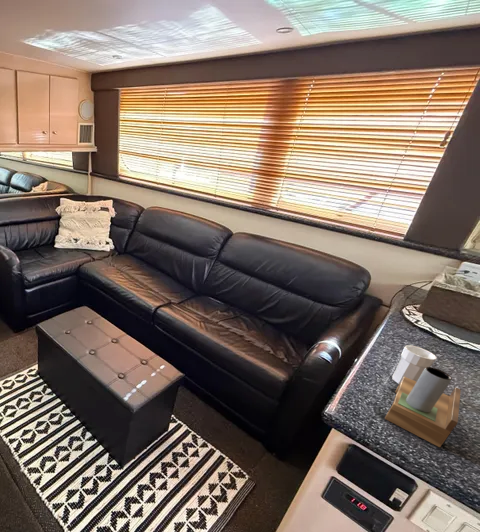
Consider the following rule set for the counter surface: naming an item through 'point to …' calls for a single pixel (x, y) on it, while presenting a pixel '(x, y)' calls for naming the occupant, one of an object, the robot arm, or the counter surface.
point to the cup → (413, 363)
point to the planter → (428, 389)
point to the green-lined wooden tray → (425, 414)
